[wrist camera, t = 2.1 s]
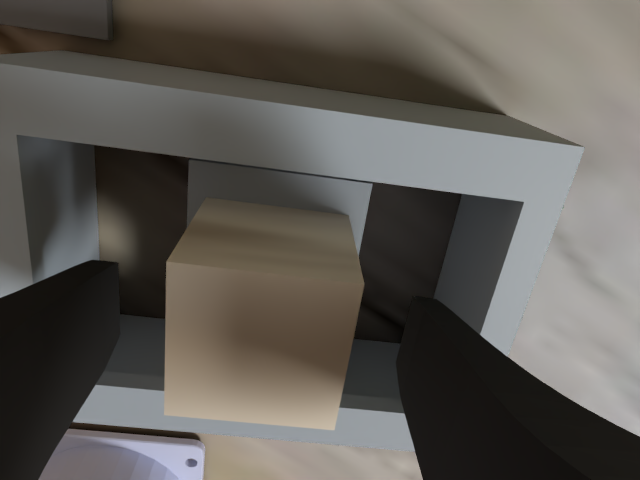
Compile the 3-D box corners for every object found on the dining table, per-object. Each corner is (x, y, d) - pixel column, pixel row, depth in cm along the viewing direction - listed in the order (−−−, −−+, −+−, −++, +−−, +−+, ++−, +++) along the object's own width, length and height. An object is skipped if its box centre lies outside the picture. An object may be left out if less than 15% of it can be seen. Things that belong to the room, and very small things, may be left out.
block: (327, 332, 15) (334, 430, 11) (200, 319, 15) (164, 415, 11) (349, 215, 13) (364, 284, 10) (205, 197, 13) (166, 261, 9)
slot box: (434, 363, 19) (470, 456, 15) (81, 327, 18) (13, 416, 14) (508, 116, 15) (584, 147, 11) (62, 50, 14) (-42, 57, 10)
